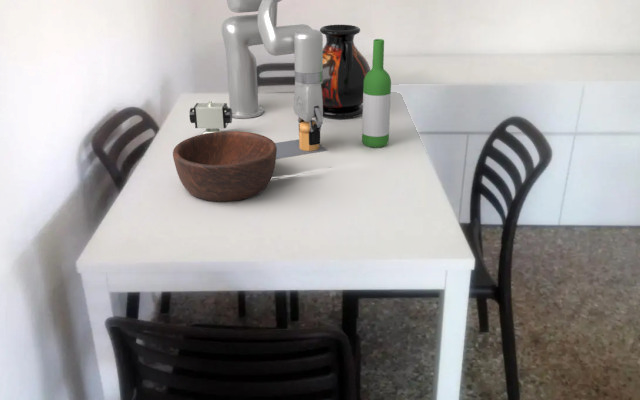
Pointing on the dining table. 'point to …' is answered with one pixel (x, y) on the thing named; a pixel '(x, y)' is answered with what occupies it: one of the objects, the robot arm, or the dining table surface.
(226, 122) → the pneumatic valve
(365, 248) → the dining table surface
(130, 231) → the dining table surface
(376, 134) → the wine bottle
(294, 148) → the board
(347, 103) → the black vase
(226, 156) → the wooden bowl
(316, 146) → the orange dome-topped faceted piece
